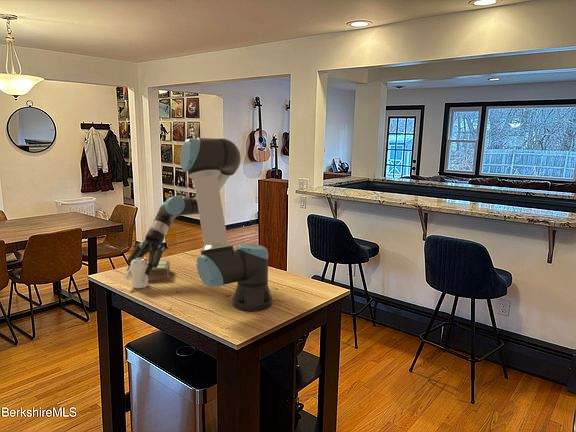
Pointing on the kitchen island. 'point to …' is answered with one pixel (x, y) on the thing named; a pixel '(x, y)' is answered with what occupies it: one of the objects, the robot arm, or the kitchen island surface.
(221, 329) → the kitchen island surface
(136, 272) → the can
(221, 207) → the robot arm
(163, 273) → the plinth
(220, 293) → the kitchen island surface
